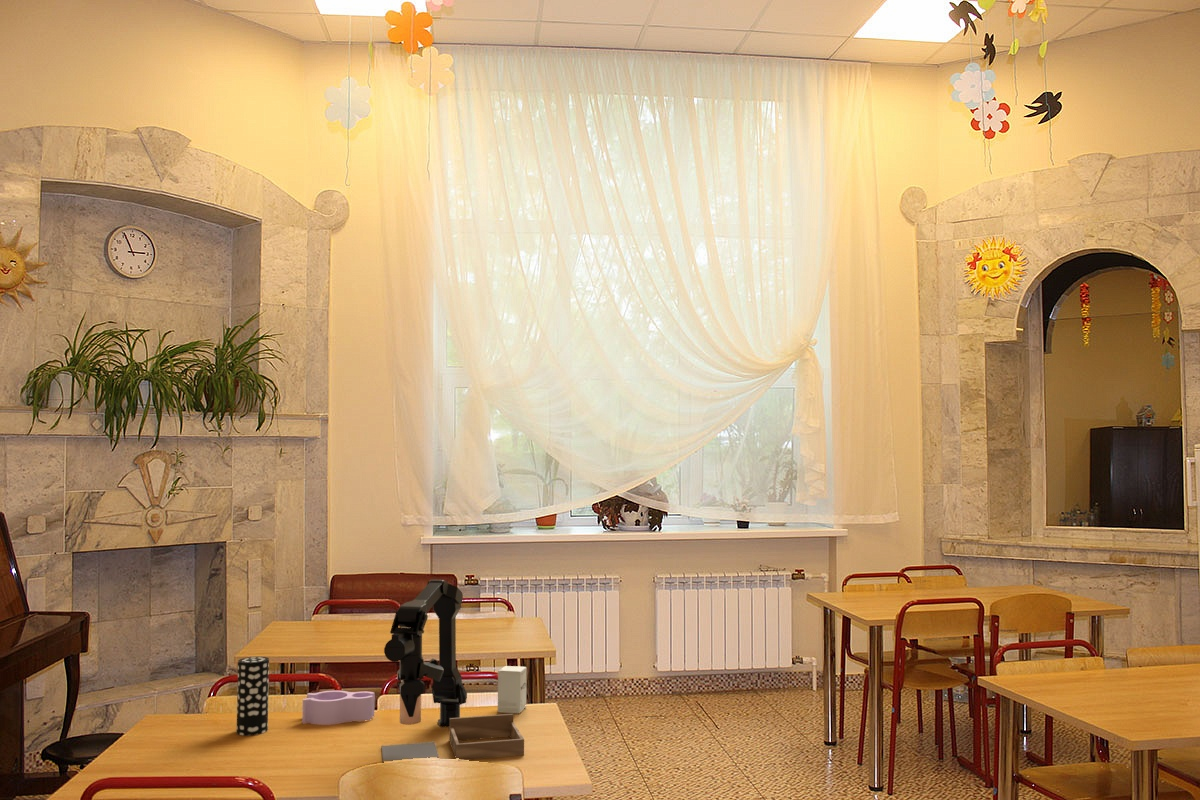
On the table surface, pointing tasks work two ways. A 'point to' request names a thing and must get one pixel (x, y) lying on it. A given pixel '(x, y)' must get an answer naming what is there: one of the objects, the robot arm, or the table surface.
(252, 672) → the white-spotted black cylinder
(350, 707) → the lavender two-hole holder
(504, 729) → the frame
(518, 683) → the supplement box
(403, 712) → the terracotta pot
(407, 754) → the mat
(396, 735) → the table surface
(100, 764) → the table surface
